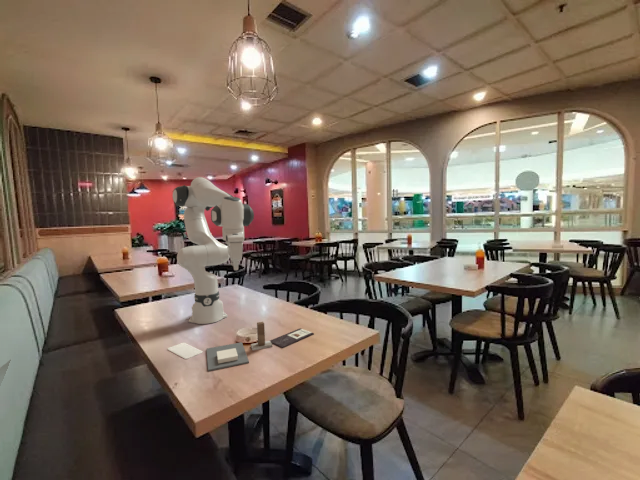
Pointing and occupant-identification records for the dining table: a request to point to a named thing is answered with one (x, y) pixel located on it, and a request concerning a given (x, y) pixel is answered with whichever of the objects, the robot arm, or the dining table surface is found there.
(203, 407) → the dining table surface
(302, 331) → the chocolate bar
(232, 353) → the tile
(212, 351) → the mat
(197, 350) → the white flat slab
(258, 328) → the stamp
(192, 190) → the robot arm
